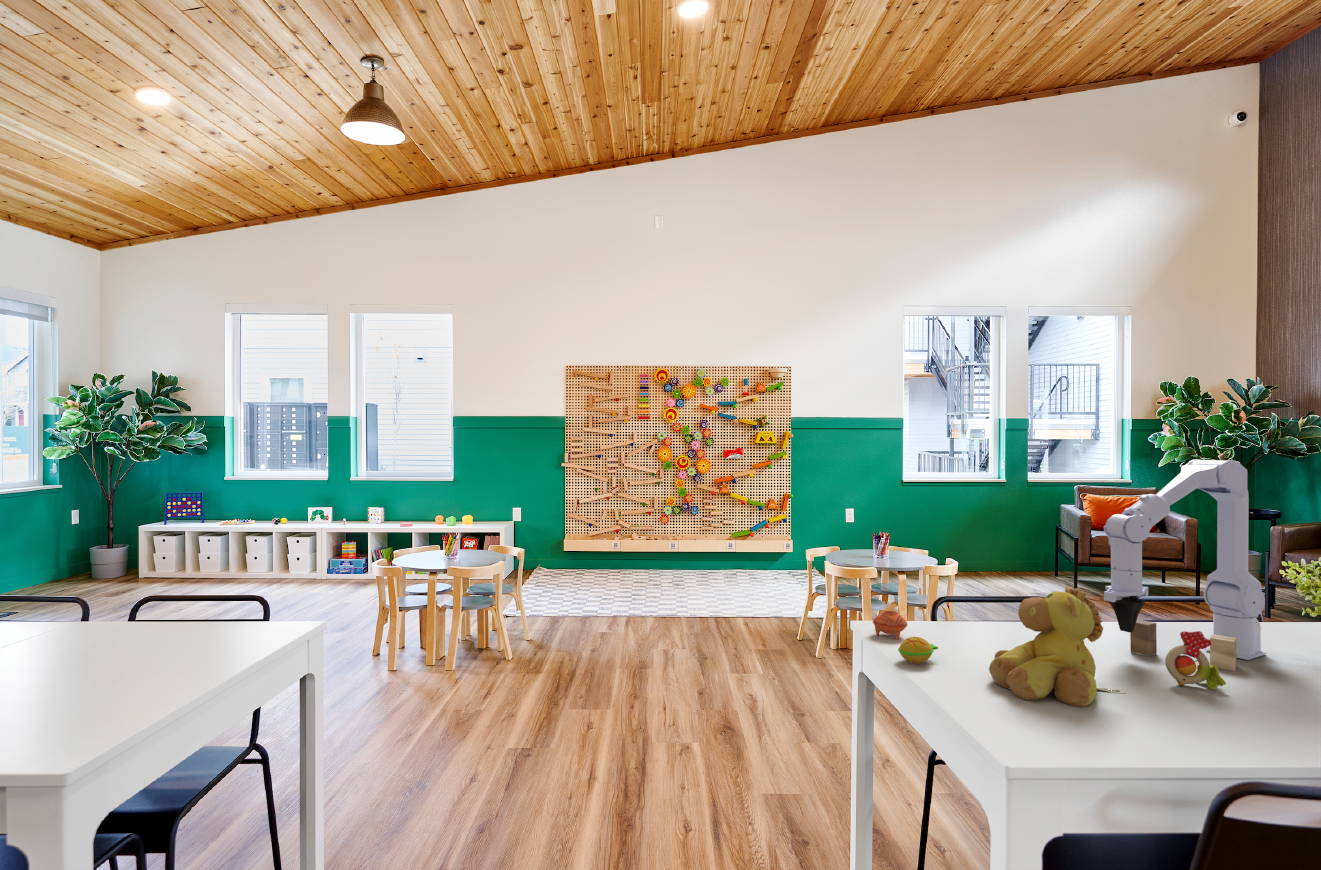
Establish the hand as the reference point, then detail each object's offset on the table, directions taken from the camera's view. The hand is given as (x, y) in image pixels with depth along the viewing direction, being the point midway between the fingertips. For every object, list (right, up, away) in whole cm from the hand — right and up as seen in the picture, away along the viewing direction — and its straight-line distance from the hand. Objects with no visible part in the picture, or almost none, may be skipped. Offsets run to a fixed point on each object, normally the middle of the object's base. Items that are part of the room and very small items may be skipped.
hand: (1126, 631), depth 151 cm
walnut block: (+6, -6, +3) cm, 9 cm away
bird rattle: (+1, -6, -18) cm, 19 cm away
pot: (-47, -6, +16) cm, 50 cm away
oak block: (+17, -6, -5) cm, 19 cm away
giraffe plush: (-28, -6, -20) cm, 34 cm away
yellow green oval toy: (-47, -6, -4) cm, 48 cm away
